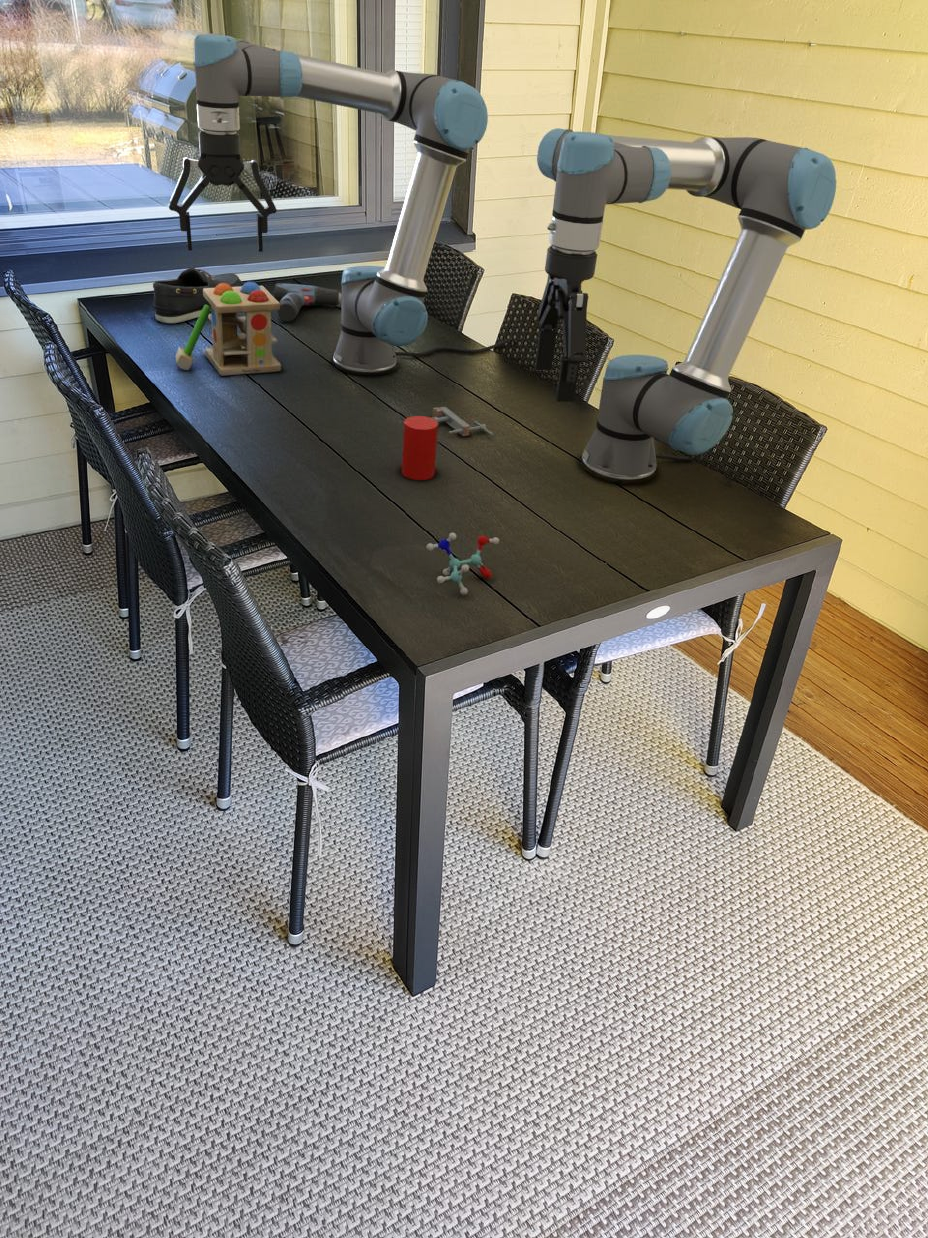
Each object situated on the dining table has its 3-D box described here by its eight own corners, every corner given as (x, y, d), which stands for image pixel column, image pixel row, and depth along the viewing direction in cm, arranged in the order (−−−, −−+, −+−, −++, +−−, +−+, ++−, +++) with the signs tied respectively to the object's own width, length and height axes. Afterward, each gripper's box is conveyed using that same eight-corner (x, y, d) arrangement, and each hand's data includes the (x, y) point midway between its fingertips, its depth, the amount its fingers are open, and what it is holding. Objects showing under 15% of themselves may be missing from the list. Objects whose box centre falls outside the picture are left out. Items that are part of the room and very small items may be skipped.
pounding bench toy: (183, 379, 220) (176, 299, 210) (169, 357, 231) (162, 280, 221) (282, 371, 230) (280, 294, 220) (264, 350, 240) (262, 276, 230)
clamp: (420, 409, 212) (460, 403, 217) (420, 418, 213) (460, 412, 218) (454, 436, 202) (496, 430, 206) (454, 446, 203) (495, 439, 208)
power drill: (335, 306, 256) (344, 285, 273) (264, 300, 255) (277, 279, 272) (335, 327, 259) (344, 304, 276) (264, 320, 258) (277, 299, 275)
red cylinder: (411, 462, 195) (414, 413, 189) (439, 470, 193) (443, 421, 187) (395, 474, 190) (398, 423, 184) (425, 483, 188) (428, 432, 182)
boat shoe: (261, 302, 273) (259, 263, 267) (172, 325, 249) (168, 283, 243) (227, 293, 278) (225, 255, 273) (137, 316, 254) (132, 274, 249)
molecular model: (490, 589, 152) (470, 528, 150) (436, 605, 155) (416, 545, 154) (511, 574, 162) (492, 517, 161) (460, 589, 166) (441, 533, 164)
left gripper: (149, 131, 176) (159, 252, 188) (289, 137, 183) (290, 255, 195) (149, 124, 182) (159, 242, 194) (284, 130, 189) (286, 245, 200)
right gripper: (528, 226, 156) (513, 356, 167) (571, 270, 135) (550, 414, 147) (574, 228, 157) (555, 357, 169) (622, 272, 137) (598, 415, 149)
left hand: (225, 249), depth 194 cm, fingers open, 13 cm apart
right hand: (553, 384), depth 158 cm, fingers open, 13 cm apart
